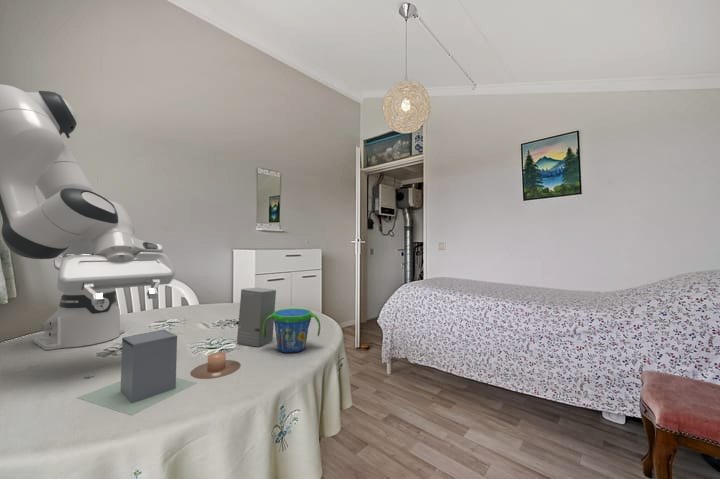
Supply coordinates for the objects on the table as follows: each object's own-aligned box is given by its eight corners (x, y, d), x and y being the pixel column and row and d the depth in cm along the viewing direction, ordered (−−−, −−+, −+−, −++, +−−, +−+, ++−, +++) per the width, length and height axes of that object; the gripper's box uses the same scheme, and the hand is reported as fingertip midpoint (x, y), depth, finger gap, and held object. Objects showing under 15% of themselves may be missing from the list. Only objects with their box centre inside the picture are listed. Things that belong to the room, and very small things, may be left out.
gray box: (120, 391, 53) (122, 337, 54) (162, 378, 59) (163, 329, 59) (131, 403, 49) (133, 345, 50) (175, 388, 55) (177, 335, 55)
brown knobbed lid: (179, 377, 61) (179, 359, 61) (217, 360, 70) (218, 345, 70) (214, 386, 57) (215, 366, 58) (250, 367, 67) (250, 350, 67)
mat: (76, 402, 51) (76, 397, 51) (146, 374, 62) (147, 371, 62) (131, 420, 46) (131, 415, 46) (197, 386, 57) (197, 382, 57)
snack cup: (322, 342, 85) (322, 308, 85) (318, 355, 74) (318, 316, 74) (268, 342, 84) (269, 308, 85) (257, 356, 74) (258, 316, 74)
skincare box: (236, 344, 83) (237, 289, 83) (254, 337, 90) (254, 286, 90) (259, 348, 80) (260, 291, 80) (275, 340, 86) (276, 287, 87)
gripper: (55, 243, 58) (59, 296, 52) (169, 245, 75) (183, 285, 68) (51, 264, 61) (55, 317, 55) (162, 261, 77) (175, 302, 71)
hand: (127, 299), depth 62 cm, fingers open, 8 cm apart
